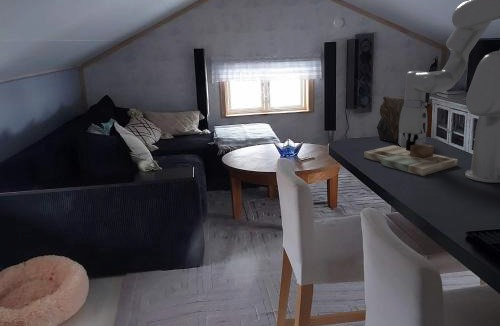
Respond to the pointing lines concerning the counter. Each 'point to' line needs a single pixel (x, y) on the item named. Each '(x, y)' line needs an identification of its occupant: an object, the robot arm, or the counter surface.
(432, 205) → the counter surface
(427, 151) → the walnut block
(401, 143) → the light bulb box
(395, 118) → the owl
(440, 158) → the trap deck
